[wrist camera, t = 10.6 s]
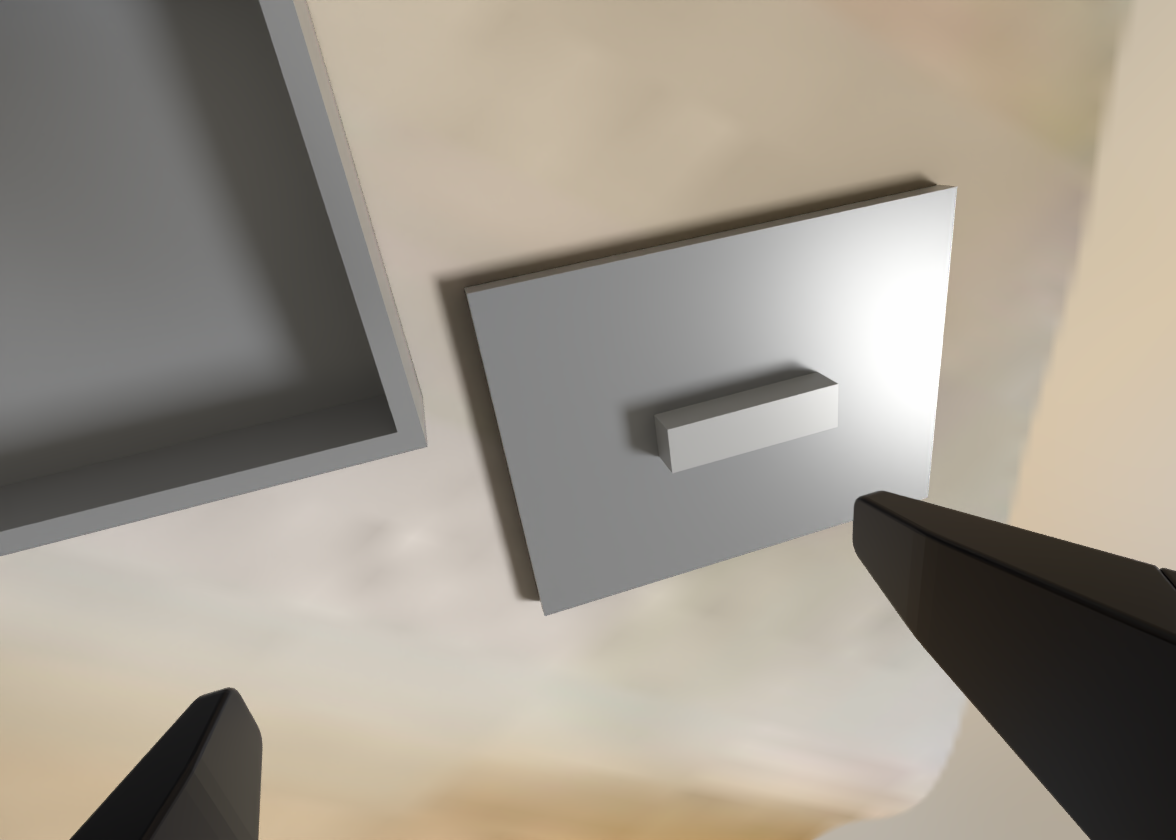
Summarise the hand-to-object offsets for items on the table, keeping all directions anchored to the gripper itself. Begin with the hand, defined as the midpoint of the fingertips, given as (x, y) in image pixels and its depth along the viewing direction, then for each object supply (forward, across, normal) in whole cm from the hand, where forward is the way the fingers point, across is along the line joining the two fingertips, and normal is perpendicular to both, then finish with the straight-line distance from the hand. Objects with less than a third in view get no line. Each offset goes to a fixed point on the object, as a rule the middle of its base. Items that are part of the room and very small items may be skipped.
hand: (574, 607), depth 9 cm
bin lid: (+12, -8, +4) cm, 15 cm away
